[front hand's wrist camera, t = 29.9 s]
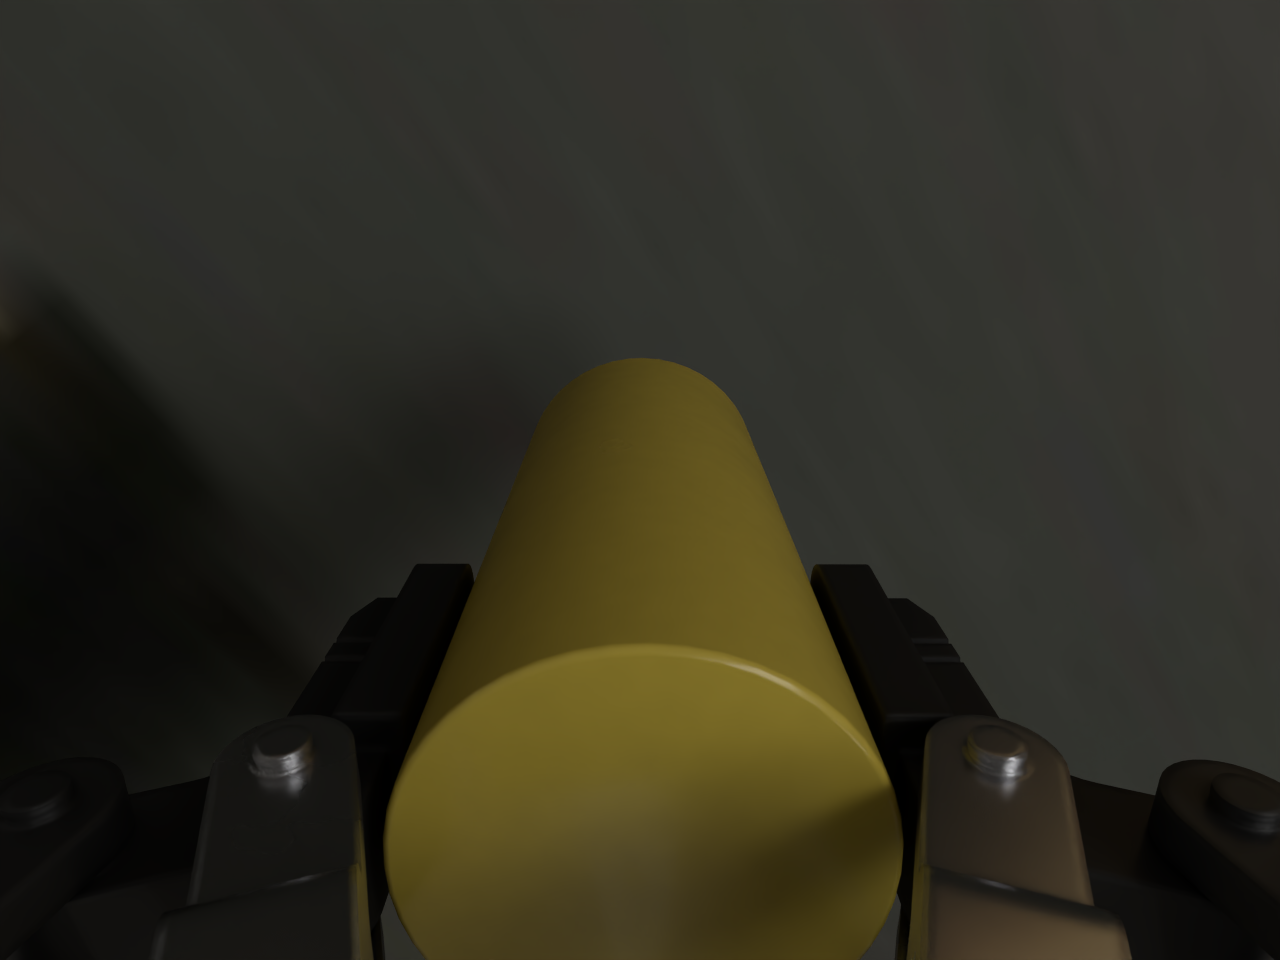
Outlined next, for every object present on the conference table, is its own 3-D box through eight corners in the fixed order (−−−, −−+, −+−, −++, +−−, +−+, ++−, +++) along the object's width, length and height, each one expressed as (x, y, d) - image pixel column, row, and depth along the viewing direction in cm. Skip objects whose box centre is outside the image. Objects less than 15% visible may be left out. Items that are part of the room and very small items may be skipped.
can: (781, 524, 18) (962, 981, 8) (582, 595, 19) (513, 1102, 9) (707, 322, 17) (816, 568, 7) (492, 406, 18) (280, 752, 7)
